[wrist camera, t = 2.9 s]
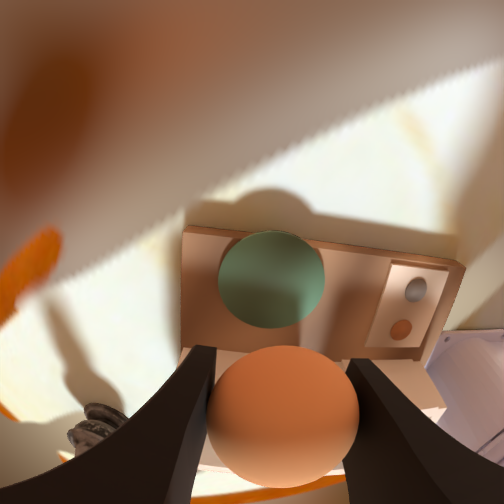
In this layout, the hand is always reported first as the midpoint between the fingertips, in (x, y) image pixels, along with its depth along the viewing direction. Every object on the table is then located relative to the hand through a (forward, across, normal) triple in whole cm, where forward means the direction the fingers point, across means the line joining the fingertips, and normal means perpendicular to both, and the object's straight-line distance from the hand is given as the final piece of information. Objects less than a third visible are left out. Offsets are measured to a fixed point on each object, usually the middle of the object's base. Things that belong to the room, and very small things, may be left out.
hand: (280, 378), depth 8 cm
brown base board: (+8, -3, +4) cm, 10 cm away
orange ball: (0, 0, 0) cm, 0 cm away
